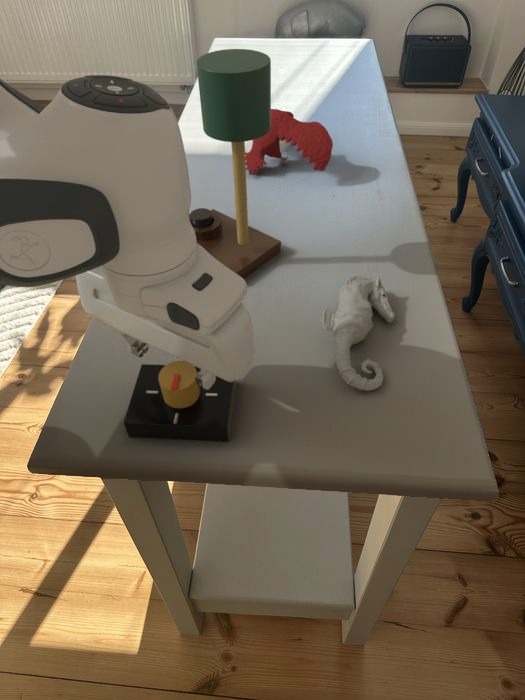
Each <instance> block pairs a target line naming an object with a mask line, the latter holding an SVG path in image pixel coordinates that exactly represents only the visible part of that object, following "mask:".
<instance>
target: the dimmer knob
mask: <svg viewBox="0 0 525 700" xmlns="http://www.w3.org/2000/svg"><path fill="white" fill-rule="evenodd" d="M165 365H166V366H164V367H163V368H162V369H161V371H160V373H159V376H158V379H159V383H160V387H161V391H162V394H163V398H164V401H165V402H166V403H167V404H168V405H169V406H171V407H173V408H186V407H189V406H191V405H193V404H194V403H195V402H196V401H197V400H198V398H199V396H200V388H199V386H198V385H196V380H195V375H196V374H197V371H196V369H195V367H194V365H192V364H189V363H187V362H185V361H183V360H175V361H172V362H169V363H166V364H165Z"/></svg>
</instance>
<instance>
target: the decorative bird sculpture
mask: <svg viewBox="0 0 525 700" xmlns="http://www.w3.org/2000/svg"><path fill="white" fill-rule="evenodd" d="M294 116H295V115H294V113H293V112H291V111H288V110H281V109H278V108H271V129H270V131H269V132H268V133H267V134H266V135H264V136H262V137H260V138H258V139H254V140H252V145H251V148H250V150H249V152H245V164H246V171H248V174H249V175H252V174H254V175H257V172H260V168H261V169H262V170H263V169H264V165H265V166H267V165H268V163H267V162H266V161H265V156H267V157H270V158H273V159H275V158H276V159H282V160H283V162H286V161H287V160H289V159H290V158H289V157H288V156H286V157H285V156H284V157H283V156H282V152H281V143H280V141H281V142H284V141H285V143H286V144H288V143H290V147H293V146H296V145H297V146H296V149H295V151H296V152H302V153H301V159H304V160H305V159H306V158H308V164H314V166H313V171H320V172H325V170H326V168H327V167H328V165H329V163H330V160H331V156H332V151H333V147H334V142H333V138H332V137H331V136H330V133H329V131H328V129H326V127H325V126H324V125H323V124H321V122H318V121H300V120H298V119H296V118H295V117H294Z"/></svg>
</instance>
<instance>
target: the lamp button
mask: <svg viewBox="0 0 525 700" xmlns="http://www.w3.org/2000/svg"><path fill="white" fill-rule="evenodd" d="M210 210H211V209H208V208H206V207H200V208H196V209H195V208H194V209H193V210H192V211H191V212H189V214H190V217H191V224H192V226H193V227H196V228H205V227H209V226H210V225H212V223H213V221H212V212H211V211H210Z"/></svg>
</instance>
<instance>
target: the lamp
mask: <svg viewBox="0 0 525 700" xmlns="http://www.w3.org/2000/svg"><path fill="white" fill-rule="evenodd" d="M195 63H196V72H197V82H198V92H199V100H200V110H201V120H202V129H203V132H204V134H205V135H206V136H207V137H209V138H211V139H213V140H216V141H220V142H226V143H230V144H231V160H232V174H233V189H234V191H233V192H234V203H235V204H234V207H235V220H236V224H237V239H238V243H239V244H241V245H245V244H247V243H248V242H249V233H248V226H249V215H248V213H249V211H248V191H247V189H248V187H247V170H246V168H247V165H246V164H245V163H246V160H245V156H246V155H245V153H246V146H245V144H246V142H251V141H253V140H254V139H258V138H260V137H262V136H264V135H266V134H267V133H268V132H269V131H270V129H271V109H272V59H271V57H270V56H269V55H268V54H267V53H264V52H262V51H258V50H254V49H247V48H227V49H220V50H214V51H210V52H208V53H205V54H203V55H201V56H199V57H198V58H197V60H196V62H195Z"/></svg>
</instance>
